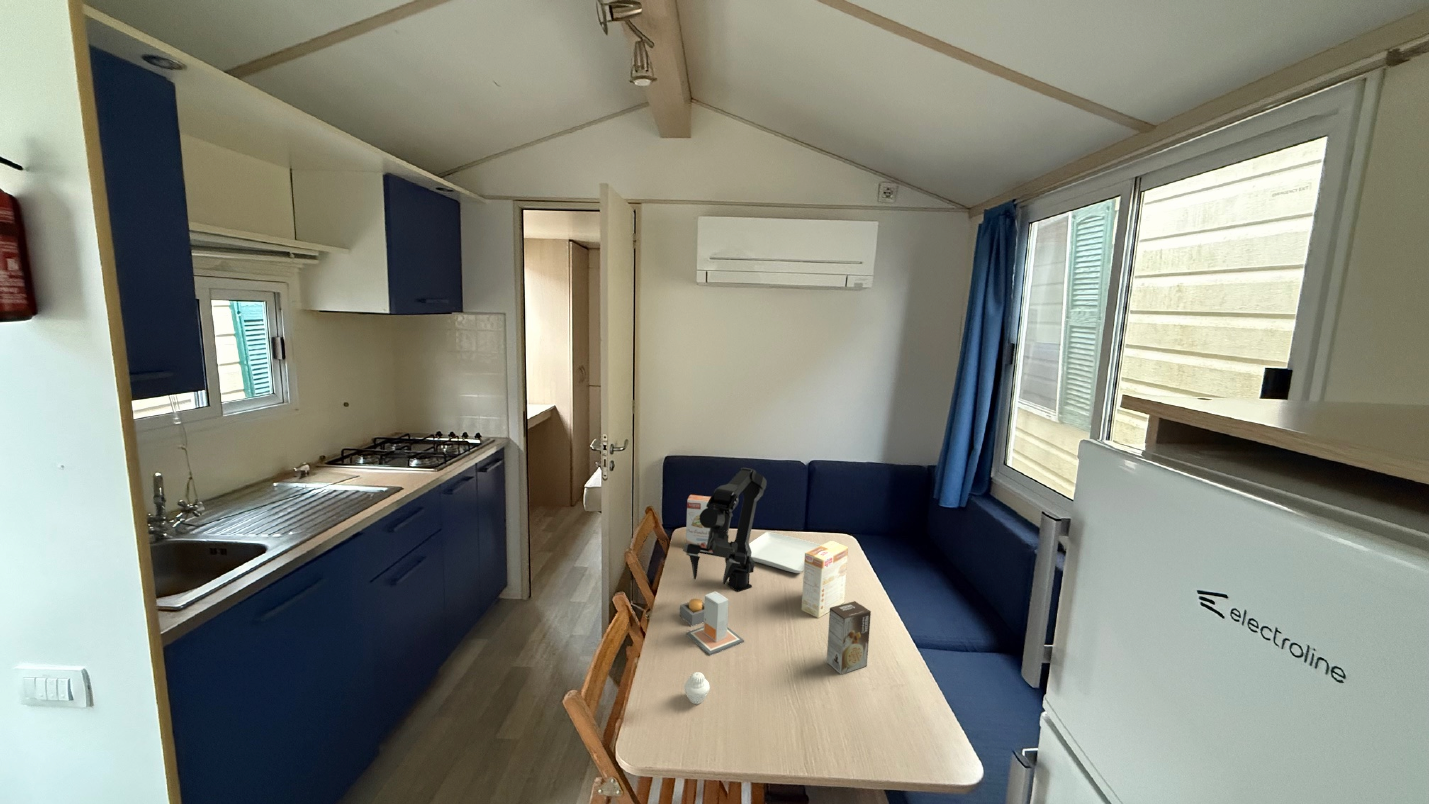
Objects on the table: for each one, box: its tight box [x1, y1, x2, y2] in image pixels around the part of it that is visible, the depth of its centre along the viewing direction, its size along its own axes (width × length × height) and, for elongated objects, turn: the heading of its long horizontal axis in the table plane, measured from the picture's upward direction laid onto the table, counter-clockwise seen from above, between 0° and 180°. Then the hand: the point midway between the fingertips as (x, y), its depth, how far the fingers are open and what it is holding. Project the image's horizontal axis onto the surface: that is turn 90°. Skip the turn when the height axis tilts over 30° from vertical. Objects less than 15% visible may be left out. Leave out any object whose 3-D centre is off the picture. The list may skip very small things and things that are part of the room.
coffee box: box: [826, 600, 872, 675], centre depth 150 cm, size 9×6×16 cm
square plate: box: [749, 531, 822, 574], centre depth 217 cm, size 27×27×4 cm
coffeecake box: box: [801, 540, 849, 619], centre depth 179 cm, size 15×7×20 cm, turn 134°
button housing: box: [679, 601, 705, 627], centre depth 171 cm, size 7×7×4 cm
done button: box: [688, 598, 703, 613], centre depth 171 cm, size 4×4×3 cm
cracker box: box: [685, 494, 713, 552], centre depth 220 cm, size 14×6×21 cm, turn 80°
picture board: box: [685, 625, 745, 656], centre depth 161 cm, size 12×12×1 cm
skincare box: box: [703, 591, 729, 642], centre depth 160 cm, size 6×4×12 cm
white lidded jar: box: [683, 671, 711, 705], centre depth 134 cm, size 6×6×7 cm
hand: (709, 582), depth 168 cm, fingers open, 9 cm apart
